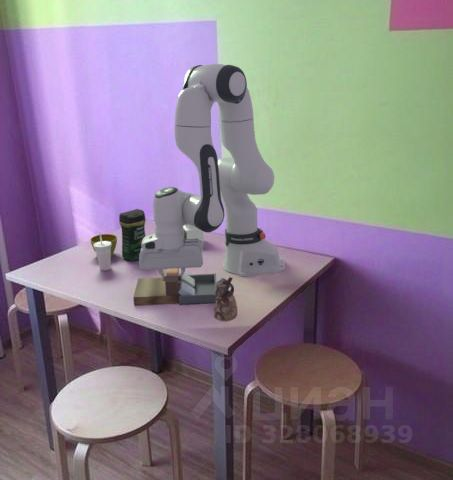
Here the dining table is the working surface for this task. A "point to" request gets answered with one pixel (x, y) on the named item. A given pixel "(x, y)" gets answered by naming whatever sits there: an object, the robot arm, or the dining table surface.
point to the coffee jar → (132, 233)
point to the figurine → (225, 301)
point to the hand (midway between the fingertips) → (172, 280)
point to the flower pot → (105, 237)
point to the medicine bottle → (192, 233)
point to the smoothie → (103, 253)
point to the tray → (201, 290)
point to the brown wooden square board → (153, 293)
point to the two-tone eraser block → (172, 281)
